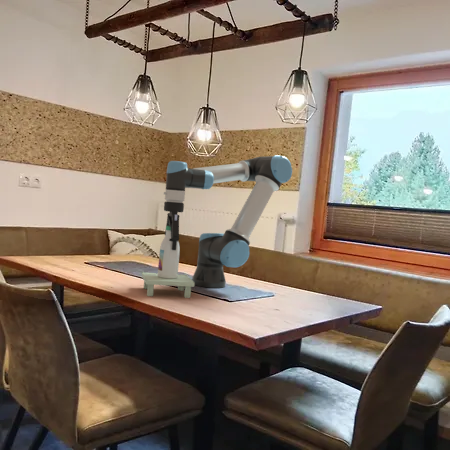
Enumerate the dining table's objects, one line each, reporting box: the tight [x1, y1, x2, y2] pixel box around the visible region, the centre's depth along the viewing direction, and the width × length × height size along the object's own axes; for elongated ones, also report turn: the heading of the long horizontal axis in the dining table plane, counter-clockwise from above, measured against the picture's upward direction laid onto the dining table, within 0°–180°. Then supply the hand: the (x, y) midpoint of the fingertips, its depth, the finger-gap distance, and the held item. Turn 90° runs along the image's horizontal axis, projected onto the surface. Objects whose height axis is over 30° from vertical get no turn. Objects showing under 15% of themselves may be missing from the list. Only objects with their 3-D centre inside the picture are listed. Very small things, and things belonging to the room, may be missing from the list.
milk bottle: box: [157, 225, 181, 279], centre depth 183 cm, size 8×8×20 cm
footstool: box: [141, 272, 196, 299], centre depth 184 cm, size 18×18×6 cm
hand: (170, 256), depth 183 cm, fingers open, 13 cm apart
